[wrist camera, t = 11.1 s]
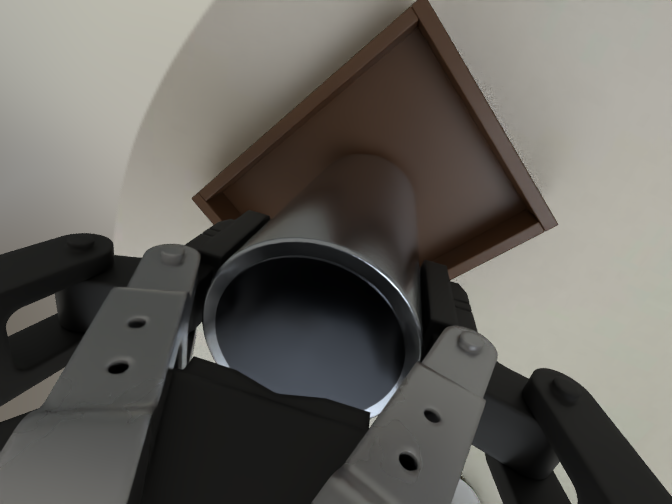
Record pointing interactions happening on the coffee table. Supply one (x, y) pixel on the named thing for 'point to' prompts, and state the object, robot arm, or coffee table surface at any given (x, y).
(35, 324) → the robot arm
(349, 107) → the tray
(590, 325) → the coffee table surface
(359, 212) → the silver cup
